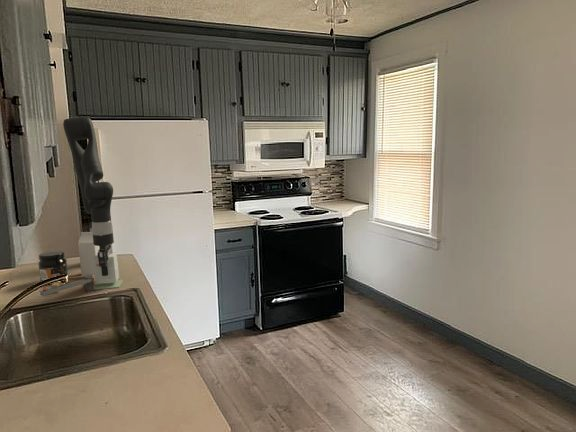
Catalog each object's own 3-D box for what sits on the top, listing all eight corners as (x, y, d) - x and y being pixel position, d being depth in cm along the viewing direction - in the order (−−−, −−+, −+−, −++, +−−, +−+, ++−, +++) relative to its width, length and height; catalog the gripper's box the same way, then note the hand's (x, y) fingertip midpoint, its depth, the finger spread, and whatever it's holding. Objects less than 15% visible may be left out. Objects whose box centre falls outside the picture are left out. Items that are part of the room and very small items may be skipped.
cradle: (61, 283, 177) (60, 275, 177) (100, 280, 180) (100, 272, 180) (50, 295, 163) (49, 286, 162) (92, 291, 166) (91, 282, 166)
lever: (39, 294, 153) (39, 287, 152) (90, 280, 168) (89, 273, 168) (43, 296, 151) (42, 288, 151) (94, 281, 167) (93, 274, 166)
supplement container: (39, 286, 174) (36, 257, 172) (41, 279, 184) (38, 252, 182) (68, 282, 179) (65, 254, 177) (69, 276, 188) (66, 249, 186)
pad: (97, 282, 177) (97, 281, 177) (122, 280, 179) (122, 279, 179) (91, 290, 168) (91, 289, 168) (118, 287, 170) (118, 286, 170)
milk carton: (97, 276, 186) (93, 233, 183) (81, 276, 186) (76, 233, 184) (104, 271, 193) (100, 230, 190) (89, 272, 194) (85, 230, 191)
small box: (119, 277, 177) (117, 253, 175) (116, 282, 171) (113, 256, 170) (98, 279, 176) (96, 254, 174) (95, 283, 170) (92, 257, 168)
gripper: (96, 229, 176) (100, 269, 179) (88, 236, 162) (92, 279, 165) (115, 228, 178) (119, 268, 181) (109, 235, 164) (113, 277, 167)
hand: (106, 273), depth 173 cm, fingers closed on small box, 5 cm apart
